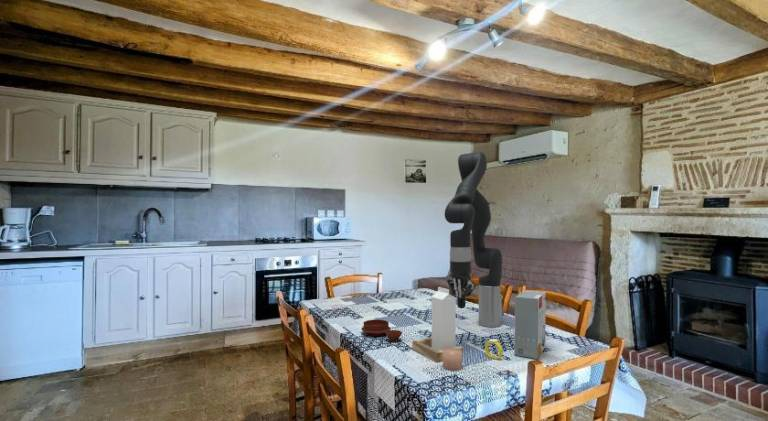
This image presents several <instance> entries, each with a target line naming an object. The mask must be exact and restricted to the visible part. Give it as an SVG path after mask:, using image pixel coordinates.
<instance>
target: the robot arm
mask: <svg viewBox="0 0 768 421" xmlns="http://www.w3.org/2000/svg"><path fill="white" fill-rule="evenodd" d="M457 165H458V166H457V167H458V170H459V175H460V179H461V182H460V183H459V184H458V186H457V187H456V191H455V193H454V196H453V197H452V199H450V201H449V202H448V204H447V205H446V208H445V210H444V219H445V220H446V222H448V223H449V224H463V227H461V228H460V229H455V230H452V231H451V232H450V233H449V234H450V235H449V237H450V239H449V241H450V244H449V245H450V248H449V249H450V250H449V272H450V273H451V274H450V275H451V277H450V279H447V280H446V282H447V284H448V287H449V290H451V293H452V295H454V296H456V297H455V298H456V305H457V308H458V309H465V308H466V298H467V297H470V296H471V294H472V293H473V291H475V289H476V286H477V285H476V284H475V283H473V282H472V279H471V278H472V277H471V276H470V274H471V273H472V251H471V239H472V247H473V248H472V249H473V258H474V263H475V265H476V267H477V268H480V269H486V270H489V271H488V274H486V275H483V276H481V277H479V278H478V325H480V326H481V327H482V326H483V327H486V328H497V327H498V328H499V327H501V325H503V303H502V301H501V281H502V276H503V274H502V272H503V271H502V269H503V254H502V251H501V250H500V249H499V248H494V247H486V245H485V235H486V233H487V230H488V228H489V226H490V224H491V220H492V215H491V209H490V204H489V201H488V200H487V198H486V197H485V196H484V195H483V194H482V193H481V192H480V190H478V186H479V185H480V183H481V181H482V180H483V177H484V176H485V174H486V171H487V168H488V161H487V157H486V154H485V153H484V152H483V151H475V152H469V153H464V154H460V155H459V156H458V158H457ZM471 237H472V238H471Z"/></svg>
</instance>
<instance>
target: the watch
mask: <svg viewBox="0 0 768 421" xmlns="http://www.w3.org/2000/svg"><path fill="white" fill-rule="evenodd" d="M490 344H495V346H496V347H497V349H498V356H495V355H492V354H491V352H490V351H489V350H490V349H489V345H490ZM484 351H485V354H486V355H487V357H488V358H491V359H494V360H499V359H500V358H502V355H503V347H502V346H501V344H500V343H499V340H498V339H496V338H490V339H489V340H488V341H487V342H486V343H485V346H484Z"/></svg>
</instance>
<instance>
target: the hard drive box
mask: <svg viewBox="0 0 768 421" xmlns="http://www.w3.org/2000/svg"><path fill="white" fill-rule="evenodd" d="M546 295H547V294H546V292H545V291H536V290H529V289H528V290H527V289H525V290H523V291H522V292H520V293H519V294H517V295H516V296H515V297H514V340H513V341H514V345H513V346H514V347H513V349H514V352H513V353H514V356H520V357H524V358H529V359H534V360H538V358H540V356H541V354H542V352H544V350H545V348H546V311H547V310H546V309H547V307H546V305H547V304H546Z"/></svg>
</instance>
